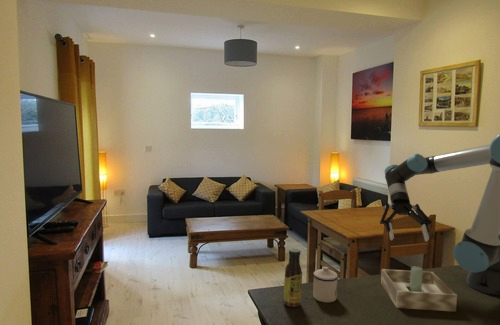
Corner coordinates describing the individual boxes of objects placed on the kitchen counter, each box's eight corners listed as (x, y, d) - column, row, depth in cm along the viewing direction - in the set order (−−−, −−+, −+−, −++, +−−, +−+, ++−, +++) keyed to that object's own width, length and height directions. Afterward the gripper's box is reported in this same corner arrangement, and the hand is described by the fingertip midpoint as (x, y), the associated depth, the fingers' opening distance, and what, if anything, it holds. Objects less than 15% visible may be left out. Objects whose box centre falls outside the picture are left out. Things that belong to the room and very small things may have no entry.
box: (431, 286, 140) (432, 271, 139) (455, 311, 120) (457, 295, 119) (381, 283, 142) (381, 269, 141) (396, 307, 122) (397, 291, 121)
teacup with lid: (340, 302, 125) (342, 272, 124) (316, 303, 124) (317, 272, 123) (329, 287, 137) (330, 259, 136) (307, 288, 136) (308, 260, 135)
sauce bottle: (290, 310, 119) (292, 254, 117) (279, 302, 124) (281, 249, 123) (304, 305, 123) (306, 251, 121) (293, 298, 128) (295, 246, 126)
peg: (418, 293, 133) (420, 266, 131) (422, 298, 129) (424, 270, 127) (407, 293, 133) (409, 266, 132) (411, 298, 129) (413, 270, 128)
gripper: (425, 201, 153) (438, 244, 140) (368, 199, 156) (375, 242, 142) (431, 191, 148) (445, 236, 134) (371, 190, 150) (380, 233, 136)
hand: (409, 239), depth 138 cm, fingers open, 13 cm apart
